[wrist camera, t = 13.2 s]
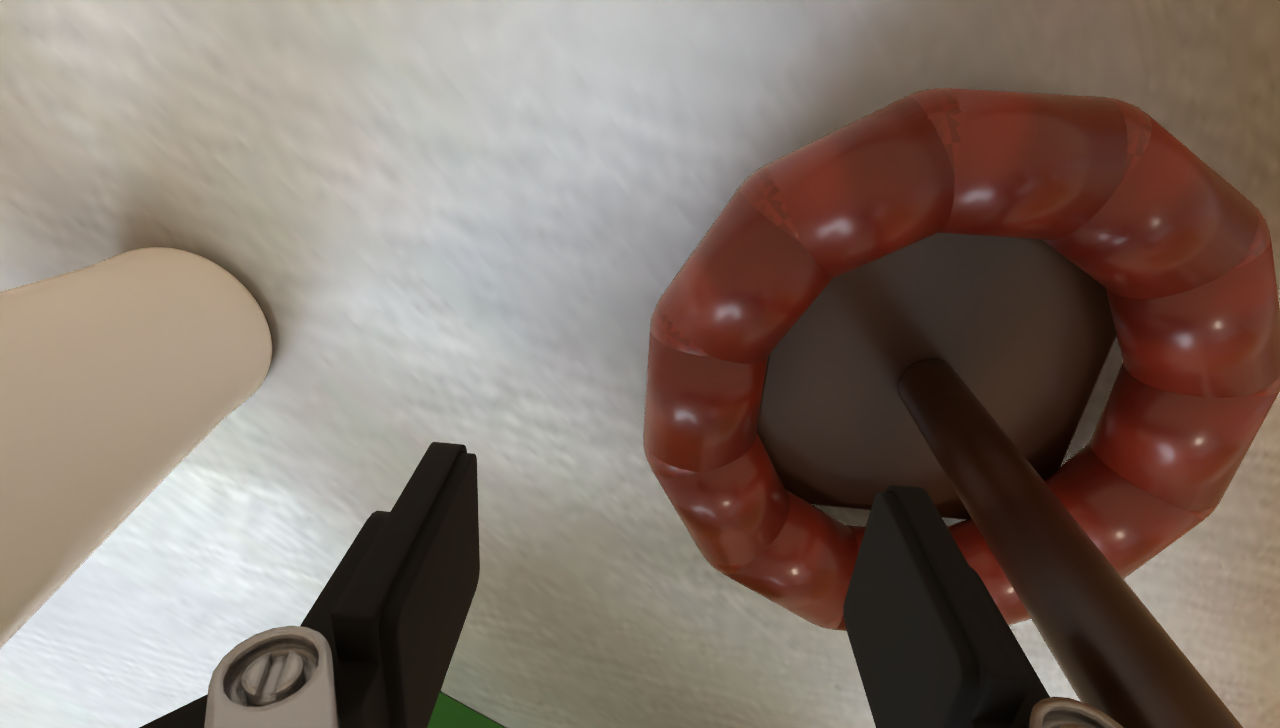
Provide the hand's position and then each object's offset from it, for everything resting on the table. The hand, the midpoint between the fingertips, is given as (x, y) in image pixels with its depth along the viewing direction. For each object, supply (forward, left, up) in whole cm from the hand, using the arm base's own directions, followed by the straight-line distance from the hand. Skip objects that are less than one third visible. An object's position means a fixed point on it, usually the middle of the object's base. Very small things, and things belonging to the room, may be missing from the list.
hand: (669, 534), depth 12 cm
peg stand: (-7, 0, -9) cm, 11 cm away
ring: (-7, 0, -6) cm, 9 cm away
